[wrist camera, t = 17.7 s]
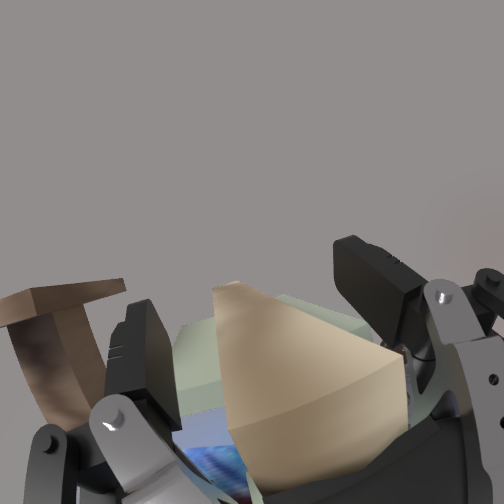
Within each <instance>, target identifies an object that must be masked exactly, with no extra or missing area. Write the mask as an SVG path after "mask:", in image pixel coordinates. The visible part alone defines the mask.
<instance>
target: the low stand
mask: <svg viewBox="0 0 504 504" xmlns="http://www.w3.org/2000/svg"><path fill="white" fill-rule="evenodd" d="M273 298H275V299H277V300H279V301H281V302H283V303H285V304H288V305H290V306H292V307H294V308H296V309H298V310H301V311H303V312H305V313H307V314H309V315H311V316H314V317H316V318H318V319H320V320H322V321H325V322H327V323H329V324H331V325H334V326H336V327H338V328H340V329H342V330H345V331H347V332H349V333H352V334H354V335H356V336H358V337H361V338H363V339H365V340H368V341H370V342H372V343H373V337H372V332H371V327H370V325H369V324H368V323H367V322H366V321H363V320H360V319H357V318H354V317H351V316H348V315H345V314H341V313H338V312H335V311H332V310H329V309H326V308H323V307H320V306H317V305H314V304H311V303H308V302H305V301H302V300H299V299H296V298H293V297H290V296H287V295H284V294H282V295H279V296H277V297H273ZM172 355H173V365H174V374H175V383H176V391H177V398H178V405H179V412H180V417H183V416H188V415H192V414H196V413H200V412H204V411H208V410H212V409H216V408H219V407H223V406H225V404H224V396H223V388H222V380H221V372H220V363H219V354H218V344H217V335H216V324H215V316H214V317H211V318H208V319H204V320H201V321H197V322H194V323H190V324H187V325H183V326H182V327H181V330H180V332H179V334H178V336H177V338H176V341H175V343H174V345H173V347H172ZM245 474H246V478H247V482H248V486H249V490H250V494H251V498H252V502H253V504H264V503H263V500H262V498H263V497H262V495H261V494H260V492H259V490H258V488H257V487H256V485H255V483H254V481H253V479H252V477H251V475H250V473H249V472H248V471H247V472H245Z"/></svg>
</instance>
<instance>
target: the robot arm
mask: <svg viewBox="0 0 504 504" xmlns="http://www.w3.org/2000/svg"><path fill="white" fill-rule="evenodd" d="M333 260H334V281H335V285H336V287H337V289H338V291H339V292H340V294H341V295H342V296H343V297H344V298H345V299H346V300H347V301H348V302H349V303H350V304H351V305H352V307H353V308H354V309H355V310H356V311H357V312H358V313H359V314H360V315H361V316H362V317H363V319H364V320H365V321H366V322H367V323H368V324H369V325H370V326H371V327H372V328H373V330H374V331H375V332H376V333H377V334H378V335H379V336H380V337H381V338H382V340H383V341H384V342H385V343H386V344H387V345H388V346H389V347H390V349H391V350H392V349H393V348H395V347H397V346H398V345H400V344H402V343H403V344H404V345H405V346H406V347H407V351H406V357H407V362H408V367H409V373H410V379H411V385H412V392H413V400H414V403H413V410H412V414H411V429H409V430H408V431H406V432H405V433H403V434H402V435H400V436H399V437H397V438H396V439H395V440H394V441H393V442H392V443H391V444H390V445H389V446H388V447H387V448H386V449H385V450H384V451H383V452H382V453H380V454H379V455H378V456H377V457H376V458H375V459H374V460H373V461H372V462H371V463H370V464H368V465H367V466H366V467H365V468H364V469H362V470H360V471H358V472H355V473H351V474H347V475H343V476H338V477H334V478H329V479H324V480H319V481H313V482H308V483H306V484H303V485H300V486H298V487H295V488H292V489H289V490H286V491H283V492H280V493H277V494H274V495H270V496H267V497H263V498H262V500H263V503H264V504H504V338H503V337H501V336H500V335H499V334H498V333H496V332H495V331H494V330H492V327H493V325H494V323H495V320H496V318H497V316H498V315H499V316H500V317H501V318H503V319H504V275H503V274H502V273H500V272H498V271H496V270H494V269H489V268H485V269H480V270H479V271H478V272H477V274H476V277H475V280H474V284H473V285H470V286H465V287H461V288H460V287H459V286H458V285H457V284H455V283H454V282H451V281H449V280H444V279H436V280H432V281H430V282H428V281H427V280H425V279H424V278H423V277H422V276H420V275H419V274H418V273H416V272H415V271H413V270H412V269H411V268H409V267H408V266H407V265H405V264H404V263H403V262H400V260H398V259H397V258H396V257H394V256H393V257H392V255H391V254H390V253H388V252H387V251H386V250H384V249H383V248H380V247H377V246H374V245H372V244H367V243H365V242H364V241H363V240H361V239H360V238H358V237H357V236H355V235H351V236H348V237H345V238H342V239H339V240H336V241H335V242H334V244H333ZM109 348H110V350H109V353H108V359H109V360H108V361H107V369H106V377H105V387H104V398H103V399H101V400H100V401H99V402H98V403H97V404H96V405H95V406H94V407H93V409H92V411H91V413H90V417H89V422H87V423H85V424H83V425H81V426H79V427H76V428H74V429H72V430H70V431H67V432H66V431H65V430H63V429H62V428H61V427H59V426H58V425H56V424H47V425H44V426H43V427H41V428H40V429H39V430H38V431H37V432H36V434H35V435H34V438H33V441H32V445H31V450H30V455H29V461H28V468H27V474H26V482H25V491H24V503H23V504H76V491H77V486H79V487H80V504H238V503H237V502H236V501H235V500H233V499H232V498H231V497H230V496H228V495H227V494H226V493H225V492H223V491H222V490H221V489H220V488H218V487H217V486H216V485H215V484H214V483H213V482H212V481H211V480H210V479H209V478H208V477H207V476H206V475H205V474H204V473H203V472H202V471H201V470H200V469H199V468H198V467H197V466H196V465H195V464H194V463H193V462H192V461H191V460H190V459H189V458H188V457H187V456H186V455H185V453H184V452H183V451H182V450H181V449H180V448H179V447H178V446H177V445H176V444H175V443H174V442H173V440H172V433H171V432H174V431H179V430H182V425H181V419H180V412H179V405H178V398H177V391H176V383H175V374H174V365H173V355H172V347H171V343H170V339H169V336H168V334H167V332H166V330H165V328H164V326H163V324H162V322H161V320H160V318H159V316H158V314H157V312H156V310H155V308H154V306H153V304H152V302H151V300H150V299H146V300H142V301H139V302H135V303H132V304H129V305H128V306H127V311H126V318H125V321H124V322H121V323H118V324H117V326H116V328H115V330H114V331H113V333H112V335H111V340H110V346H109Z"/></svg>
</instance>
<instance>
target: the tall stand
mask: <svg viewBox="0 0 504 504" xmlns="http://www.w3.org/2000/svg"><path fill="white" fill-rule="evenodd" d="M124 291H126V287H125V284H124V280H123V278H119V279H111V280H102V281H93V282H84V283H75V284H65V285H57V286H46V287H37V288H30V289H26V290H24V291H21V292H18V293H16V294H13V295H11V296H8V297H6V298H3V299H0V328H2V327H5V326H7V329H8V332H9V335H10V338H11V341H12V344H13V347H14V350H15V353H16V356H17V358H18V361H19V364H20V366H21V369H22V371H23V373H24V376H25V378H26V381H27V383H28V385H29V387H30V389H31V392H32V394H33V395H34V398H35V400H36V402H37V404H38V406H39V408H40V409H41V412H42V414H43V415H44V417H45V419H46V421H47V423H48V424H56V425H58V426H59V427H61V428H62V429H63V430H65V431H66V432H67V431H70V430H72V429H74V428H76V427H79V426H81V425H83V424H85V423H87V422H89V417H90V413H91V411H92V409H93V407H94V406H95V405H96V404H97V403H98V402H99V401H100V400H101V399H103V398H104V387H105V377H106V367H105V365H104V362H103V360H102V357H101V355H100V352H99V349H98V347H97V344H96V341H95V339H94V336H93V333H92V330H91V328H90V325H89V321H88V318H87V315H86V312H85V309H84V306H83V304H84V303H88V302H91V301H94V300H97V299H101V298H104V297H108V296H111V295H114V294H118V293H121V292H124ZM211 481H212V480H211ZM212 482H213V481H212ZM213 483H214V482H213Z"/></svg>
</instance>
